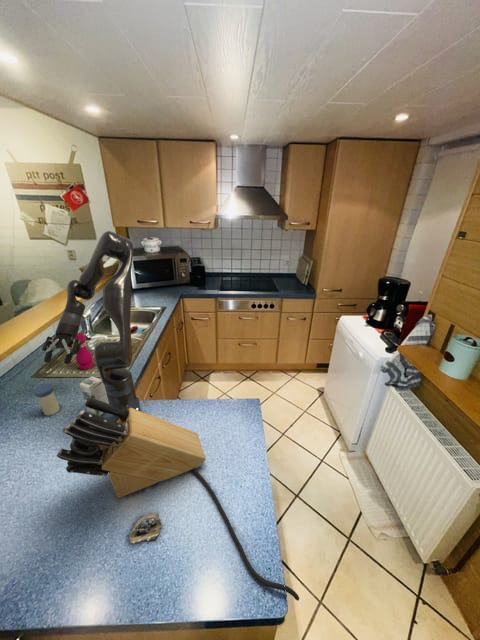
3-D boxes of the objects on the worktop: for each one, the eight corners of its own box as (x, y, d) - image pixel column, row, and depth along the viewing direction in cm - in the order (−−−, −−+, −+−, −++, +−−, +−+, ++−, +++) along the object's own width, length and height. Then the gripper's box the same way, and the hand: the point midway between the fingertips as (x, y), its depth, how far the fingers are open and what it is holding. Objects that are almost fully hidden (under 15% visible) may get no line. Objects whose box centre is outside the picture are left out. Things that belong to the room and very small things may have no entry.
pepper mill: (87, 371, 123) (76, 335, 114) (74, 369, 124) (63, 333, 116) (97, 363, 129) (88, 328, 121) (85, 361, 130) (75, 327, 122)
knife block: (84, 476, 76) (53, 397, 63) (197, 438, 89) (191, 366, 76) (78, 514, 67) (41, 432, 53) (206, 466, 79) (201, 389, 66)
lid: (38, 389, 97) (37, 385, 97) (55, 386, 99) (54, 382, 98) (33, 399, 93) (31, 395, 92) (51, 395, 94) (49, 391, 94)
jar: (62, 408, 101) (54, 387, 96) (49, 417, 96) (40, 395, 92) (54, 404, 103) (46, 383, 98) (40, 412, 98) (31, 391, 94)
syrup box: (87, 413, 98) (78, 384, 92) (100, 403, 103) (92, 375, 97) (98, 418, 96) (89, 388, 90) (110, 407, 101) (102, 378, 95)
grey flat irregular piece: (165, 533, 63) (164, 529, 62) (132, 555, 59) (130, 551, 58) (157, 508, 68) (156, 504, 67) (126, 527, 64) (125, 523, 63)
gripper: (90, 328, 108) (79, 366, 103) (60, 326, 110) (47, 363, 104) (79, 323, 101) (65, 362, 96) (46, 320, 103) (32, 359, 97)
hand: (56, 363), depth 100 cm, fingers open, 8 cm apart
